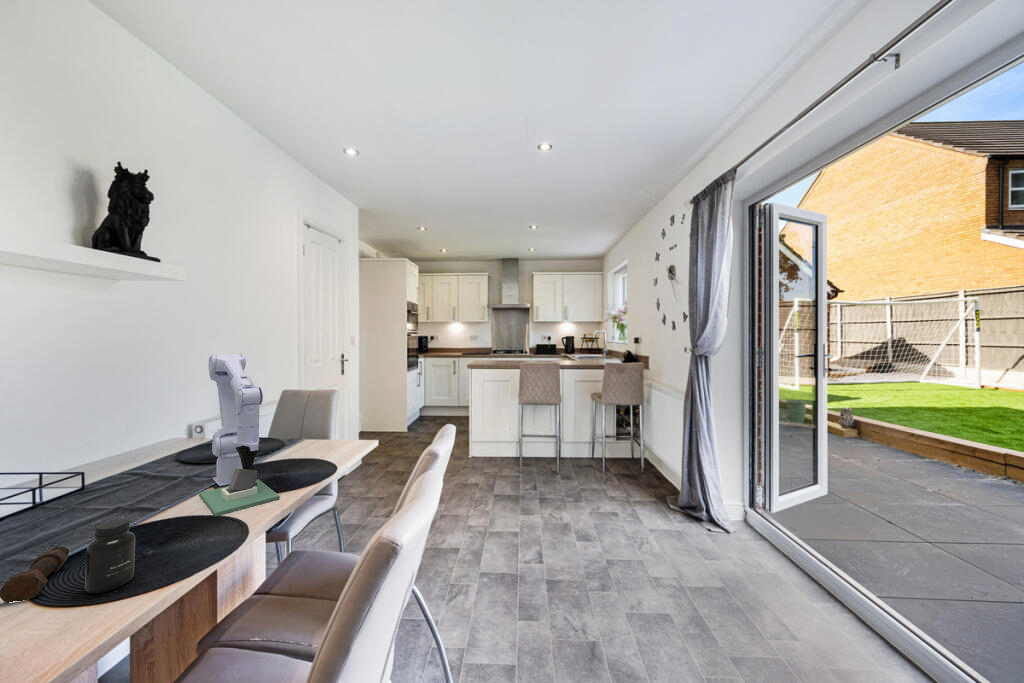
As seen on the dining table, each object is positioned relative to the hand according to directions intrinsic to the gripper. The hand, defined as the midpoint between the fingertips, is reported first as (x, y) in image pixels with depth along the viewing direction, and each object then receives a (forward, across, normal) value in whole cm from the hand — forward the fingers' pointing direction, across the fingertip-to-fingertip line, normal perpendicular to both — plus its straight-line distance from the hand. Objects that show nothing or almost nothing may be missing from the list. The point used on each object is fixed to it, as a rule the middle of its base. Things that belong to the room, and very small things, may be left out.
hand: (247, 468), depth 121 cm
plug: (+6, +1, -2) cm, 6 cm away
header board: (+8, +1, -2) cm, 8 cm away
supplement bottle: (+8, +32, -31) cm, 45 cm away
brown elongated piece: (+9, +20, -40) cm, 46 cm away
